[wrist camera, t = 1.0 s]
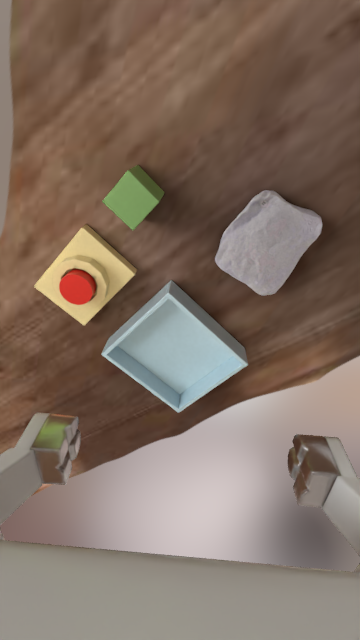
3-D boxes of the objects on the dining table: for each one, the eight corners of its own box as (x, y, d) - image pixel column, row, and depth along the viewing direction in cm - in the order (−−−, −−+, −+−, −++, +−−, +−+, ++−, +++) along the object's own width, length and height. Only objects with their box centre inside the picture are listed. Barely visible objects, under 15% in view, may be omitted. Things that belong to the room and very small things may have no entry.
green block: (137, 164, 39) (128, 169, 34) (165, 192, 41) (159, 201, 35) (114, 192, 41) (101, 201, 36) (141, 218, 42) (132, 230, 37)
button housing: (86, 223, 43) (77, 230, 40) (137, 269, 46) (132, 279, 43) (38, 281, 48) (27, 292, 45) (87, 320, 51) (80, 332, 48)
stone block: (209, 258, 46) (270, 294, 46) (204, 266, 42) (271, 305, 42) (255, 177, 41) (324, 217, 41) (255, 177, 37) (331, 221, 37)
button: (76, 262, 43) (71, 267, 41) (102, 285, 44) (98, 290, 43) (57, 284, 44) (52, 289, 43) (83, 304, 46) (79, 310, 44)
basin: (171, 279, 46) (168, 292, 43) (245, 347, 52) (248, 364, 48) (108, 338, 52) (101, 354, 49) (180, 394, 57) (178, 412, 54)
